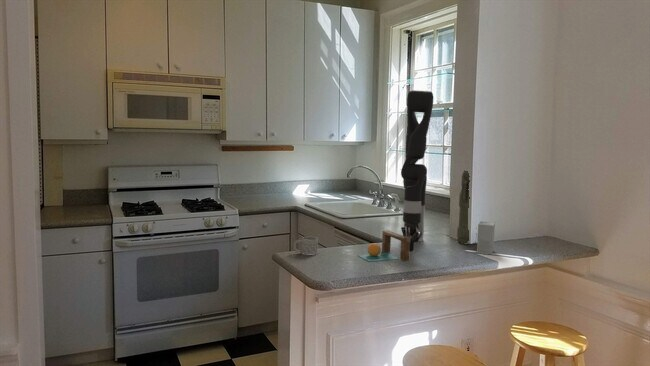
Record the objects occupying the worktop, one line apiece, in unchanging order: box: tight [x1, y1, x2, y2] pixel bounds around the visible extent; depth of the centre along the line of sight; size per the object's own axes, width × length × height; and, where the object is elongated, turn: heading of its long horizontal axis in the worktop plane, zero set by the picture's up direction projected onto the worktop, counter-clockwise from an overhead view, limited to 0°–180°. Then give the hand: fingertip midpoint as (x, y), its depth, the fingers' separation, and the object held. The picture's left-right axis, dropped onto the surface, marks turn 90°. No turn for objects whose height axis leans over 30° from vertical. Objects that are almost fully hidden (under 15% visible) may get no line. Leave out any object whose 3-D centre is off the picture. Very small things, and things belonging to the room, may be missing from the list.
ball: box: [367, 242, 382, 256], centre depth 211 cm, size 6×6×6 cm
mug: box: [293, 236, 319, 255], centre depth 212 cm, size 10×7×7 cm, turn 99°
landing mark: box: [357, 252, 400, 263], centre depth 209 cm, size 10×14×1 cm
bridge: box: [381, 229, 411, 262], centre depth 212 cm, size 3×17×9 cm, turn 23°
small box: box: [476, 221, 496, 256], centre depth 223 cm, size 8×6×13 cm
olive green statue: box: [456, 169, 470, 244], centre depth 241 cm, size 9×12×35 cm
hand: (410, 251), depth 215 cm, fingers closed
